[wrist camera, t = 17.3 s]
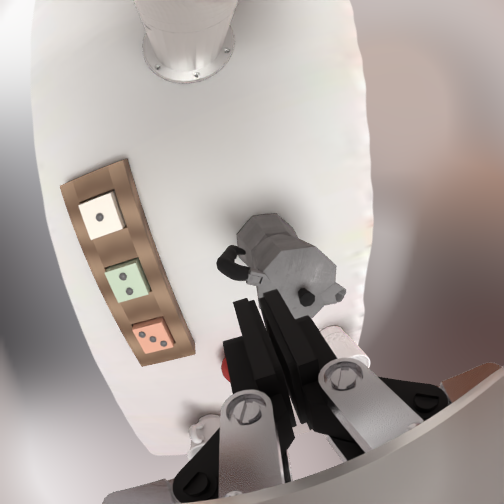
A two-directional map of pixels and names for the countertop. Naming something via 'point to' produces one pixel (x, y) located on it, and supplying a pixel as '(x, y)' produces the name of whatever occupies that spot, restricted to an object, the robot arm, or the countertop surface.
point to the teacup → (202, 433)
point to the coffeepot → (282, 265)
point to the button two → (127, 280)
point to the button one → (102, 215)
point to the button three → (153, 334)
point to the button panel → (125, 248)
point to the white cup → (343, 345)
